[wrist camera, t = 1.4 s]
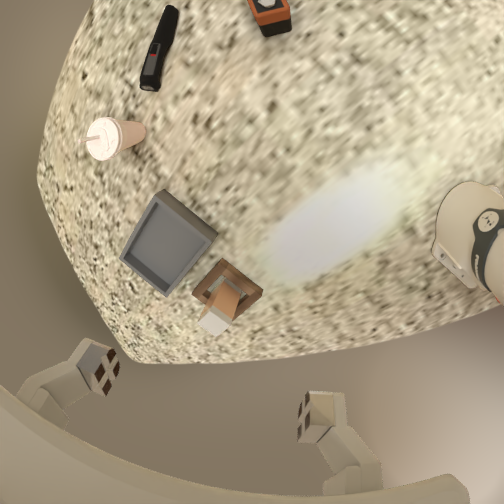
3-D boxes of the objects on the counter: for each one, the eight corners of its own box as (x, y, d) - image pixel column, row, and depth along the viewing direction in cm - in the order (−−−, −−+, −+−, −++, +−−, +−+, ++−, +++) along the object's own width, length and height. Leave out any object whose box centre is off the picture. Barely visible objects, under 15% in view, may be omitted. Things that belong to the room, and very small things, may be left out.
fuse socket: (263, 289, 49) (261, 296, 48) (232, 316, 54) (230, 322, 52) (222, 257, 48) (219, 263, 46) (194, 288, 52) (191, 294, 50)
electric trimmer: (187, 10, 29) (179, 4, 26) (160, 92, 36) (151, 90, 33) (167, 10, 29) (158, 4, 26) (142, 90, 36) (131, 88, 33)
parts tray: (218, 233, 46) (212, 242, 43) (173, 287, 53) (166, 297, 50) (164, 189, 43) (154, 194, 40) (128, 250, 51) (118, 258, 48)
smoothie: (138, 106, 37) (82, 109, 25) (159, 133, 39) (106, 144, 27) (116, 132, 40) (59, 144, 28) (135, 158, 42) (81, 177, 29)
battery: (264, 38, 30) (253, 15, 21) (250, 5, 27) (236, -23, 19) (292, 31, 29) (290, 6, 20) (278, -2, 26) (271, -32, 17)
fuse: (242, 289, 50) (230, 325, 41) (229, 301, 52) (216, 337, 43) (225, 276, 49) (209, 310, 41) (213, 288, 51) (196, 323, 42)
